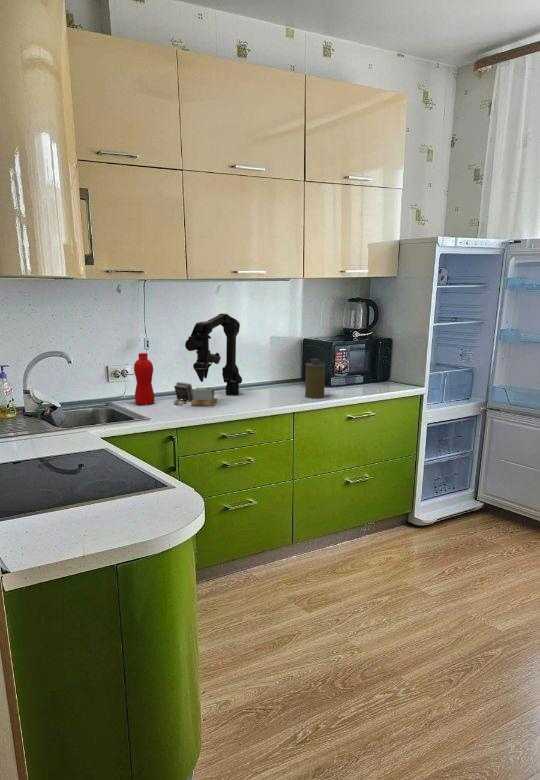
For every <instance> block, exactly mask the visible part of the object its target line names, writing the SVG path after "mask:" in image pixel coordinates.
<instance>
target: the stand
mask: <svg viewBox="0 0 540 780" xmlns="http://www.w3.org/2000/svg"><path fill="white" fill-rule="evenodd" d="M217 400H218V398H217V397H214V399H213V400H212V401H195V400H194V399H193V400H190V403H191V404H190V405H191V407H208V406H214V405H215V404H216V405H217V402H218V401H217ZM216 405H215V406H216ZM215 406H214V407H215Z"/></svg>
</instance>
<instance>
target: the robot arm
mask: <svg viewBox="0 0 540 780" xmlns="http://www.w3.org/2000/svg"><path fill="white" fill-rule="evenodd" d="M219 326H222V328H223V329H222V330H223V333H224V335H225V336H226V349H225V350H226V355H225V356H226V359H225V361H226V362H225V365H224V367H222V369H221V370H222V373H221V375H222V378H223V383H226V385H225V395H226V396H232V395H233V396H239V394H240V392H241V391H240V385H241V384H242V383H243V378H242V375H241V374H240V371H239V368H238V367H239V366H237V364H236V361H237V360H236V359H237V357H236V356H237V355H236V354H237V352H236V351H237V336H238V334H239V333H240V327H241V325H240V321H239V320H237V319H236V318H234V317H232V316H230V314H229V313H219V314H218V315H216V316H213V317H212V318H210V319H208V320H207V321H199V322H196V323H195V324H194V327H193V329H192V331H191V334H190V336H188V339H186V341H185V343H184V346H185V349H186V350H187V351H188V352H193V351H195V353H196V355H197V357H196V361H195V362H194V363H193V364H192V367H193V369H194V371H195V373H196V375H197V377H198V379H199V382H201V383H202V382H204V379H207V378H208V374H209V368H210V367H211V366H212V365H213V363H214V364H215V365H218V364H219V363H220V361H221V358H222V357H221V356H220V353H219V352H216V353H211V350H210V345H209V344H210V342H209V339H212V337H211V336H210V334H212V332H213V330H214V329H215V328H217V327H219Z"/></svg>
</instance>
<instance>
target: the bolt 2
mask: <svg viewBox="0 0 540 780" xmlns="http://www.w3.org/2000/svg"><path fill="white" fill-rule="evenodd" d="M176 401H177V403H180V404H182V405H186V404H187V401H179V400H176Z"/></svg>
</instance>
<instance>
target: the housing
mask: <svg viewBox="0 0 540 780" xmlns="http://www.w3.org/2000/svg"><path fill="white" fill-rule="evenodd" d="M193 394H194V400H195V401H212V400H213V399H214V398H215V388H214V387H196V388H195V389H193Z"/></svg>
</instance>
